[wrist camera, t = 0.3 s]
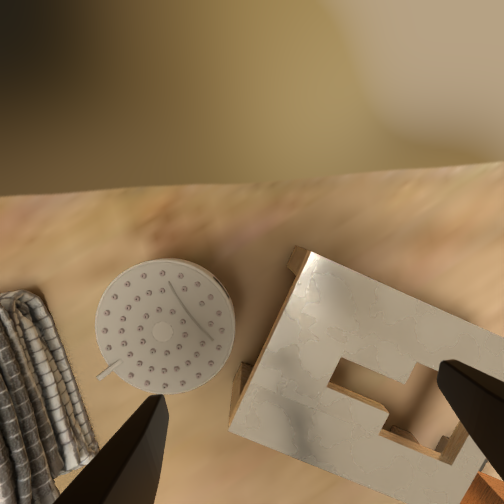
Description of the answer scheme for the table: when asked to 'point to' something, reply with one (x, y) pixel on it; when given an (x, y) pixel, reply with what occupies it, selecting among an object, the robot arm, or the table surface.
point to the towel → (37, 405)
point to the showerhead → (165, 326)
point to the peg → (480, 485)
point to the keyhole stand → (348, 402)
